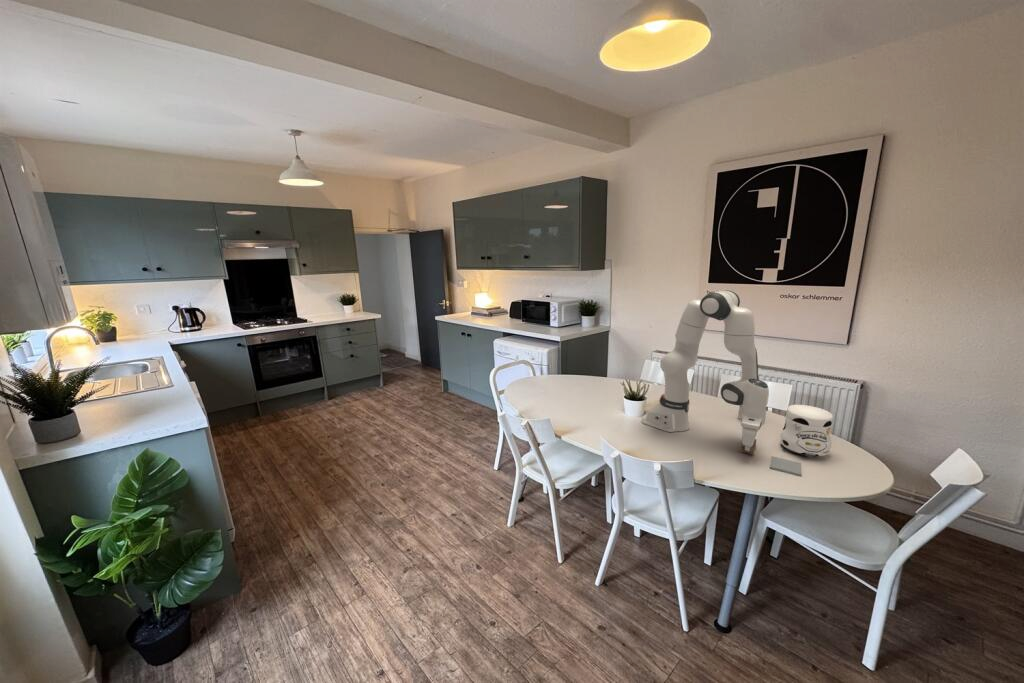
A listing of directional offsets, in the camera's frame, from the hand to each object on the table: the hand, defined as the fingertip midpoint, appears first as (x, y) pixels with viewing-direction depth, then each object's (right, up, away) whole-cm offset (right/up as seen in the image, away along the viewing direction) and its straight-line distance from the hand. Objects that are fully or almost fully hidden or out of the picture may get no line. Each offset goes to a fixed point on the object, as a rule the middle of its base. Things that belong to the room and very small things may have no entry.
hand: (748, 447), depth 164 cm
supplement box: (+20, +5, +31) cm, 37 cm away
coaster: (+8, -5, -11) cm, 15 cm away
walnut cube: (0, -2, 0) cm, 2 cm away
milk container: (+25, -2, +1) cm, 25 cm away
